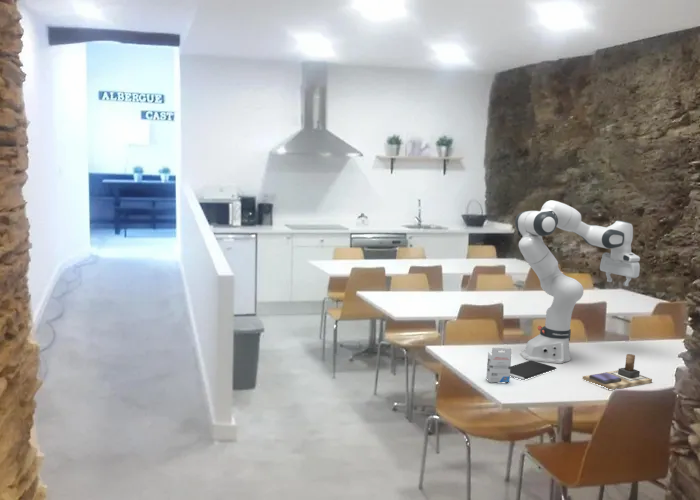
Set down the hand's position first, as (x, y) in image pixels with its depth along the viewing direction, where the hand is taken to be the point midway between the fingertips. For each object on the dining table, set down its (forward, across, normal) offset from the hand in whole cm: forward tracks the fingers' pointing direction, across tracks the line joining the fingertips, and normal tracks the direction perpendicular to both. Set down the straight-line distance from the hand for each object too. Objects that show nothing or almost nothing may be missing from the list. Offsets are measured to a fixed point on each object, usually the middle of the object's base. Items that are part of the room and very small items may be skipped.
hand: (617, 283), depth 329 cm
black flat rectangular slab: (+35, +6, -59) cm, 69 cm away
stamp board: (+34, +30, -32) cm, 55 cm away
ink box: (+34, +11, -80) cm, 88 cm away
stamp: (+32, +30, -25) cm, 51 cm away
